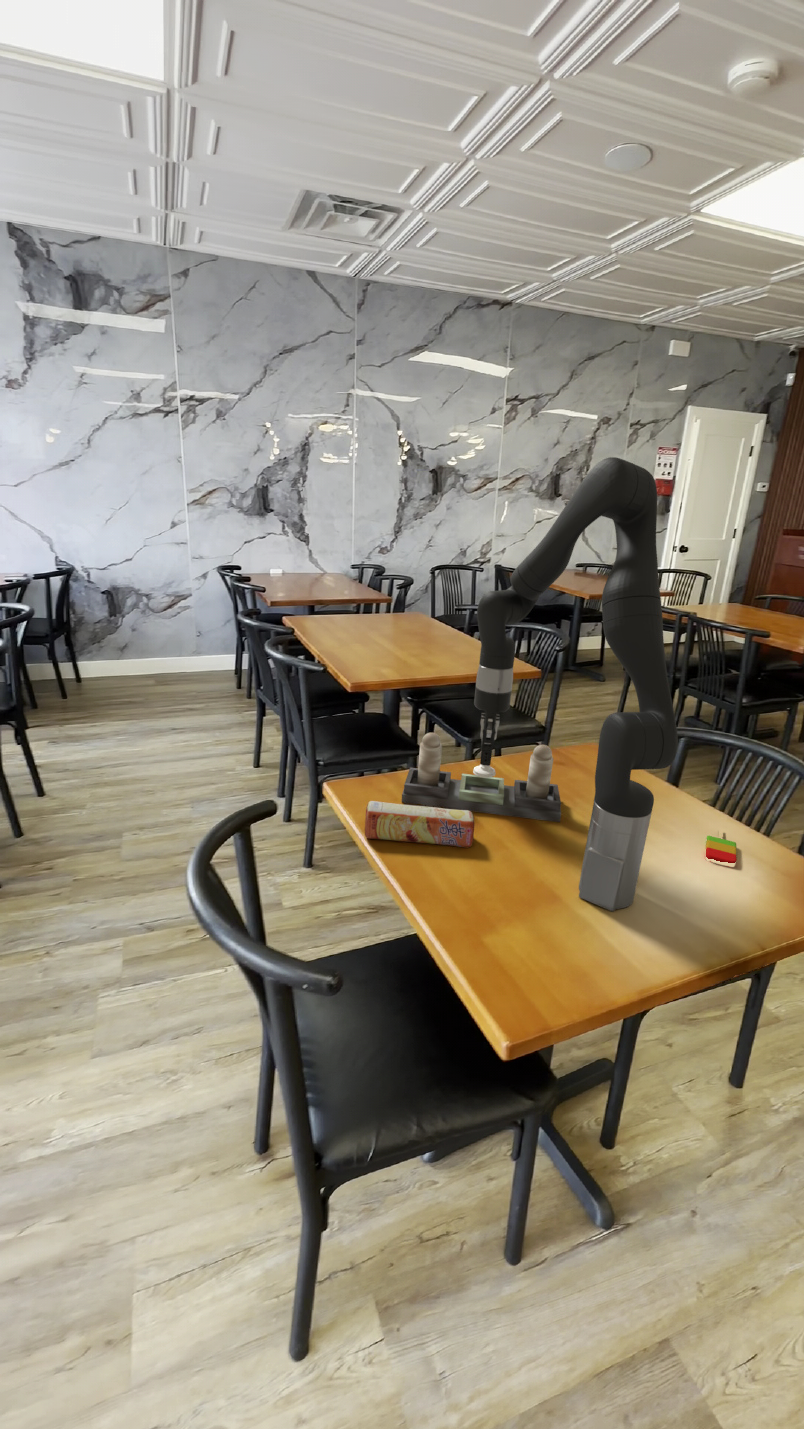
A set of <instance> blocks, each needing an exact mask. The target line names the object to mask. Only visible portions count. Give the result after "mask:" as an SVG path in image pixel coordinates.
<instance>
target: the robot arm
mask: <svg viewBox="0 0 804 1429" xmlns="http://www.w3.org/2000/svg"><path fill="white" fill-rule="evenodd" d="M656 483H657V482H656V480H655V478H654V475H652V473H651V472H650V471H648V470H647V469H646V468H644V467H642V466H639V465H637V464H635V463H632V462H630V461H629V460H628V461H627V460H625V459H622V458H619V457H613V456H612V457H608V458H607V457H606V458H604V459H602V460H600V461H599V462H598V463H596V465H594V466H593V467H592V469H591V470H590V471H589V472H588V473H587V474H586V476H585V477H584V478H583V480H582V481H581V483H580V484H579V485H578V487H577V488H576V490H575V492H574V493H573V494H572V496H571V497H570V498H569V501H567V503H566V505H565V506H564V508H563V509H562V511H561V512H560V514H559V515H558V517H557V518H556V520H555V521H554V523H553V524H552V526H551V527H550V529H549V530H548V532H547V533H546V534H545V536H543V538H542V539H541V540H540V542H538V544H537V545H536V547H534V549H532V551H531V552H530V553H528V555H526V557H525V558H524V559H523V560H522V561H521V562H520V563H519V565H517V567H516V568H515V569H514V570H513V572H512V574H511V576H510V584H511V586H509V587H508V588H507V589H503V590H502V589H501V590H492V591H488V592H486V593H485V594H483V595H482V597H481V598H480V600H479V603H478V606H477V609H476V620H477V624H478V625H477V627H478V632H479V640H480V645H481V646H480V654H479V665H478V669H477V674H476V680H475V691H474V699H473V705H474V706H475V708H476V709H478V710H480V711H484V712H481V717H480V722H479V724H480V736H479V738H480V739H481V740H480V741H481V745H480V748H481V753H480V762H479V763H480V764H481V765H487V766H489V765H490V766H491V763H492V754H493V751H494V748H495V746H494V744H495V740H497V736H498V729H499V727H500V719H501V718H500V717H501V716H500V714H499V713H504V712H507V711H509V710H510V707H511V706H510V705H511V699H512V698H511V697H512V689H513V683H514V682H513V681H514V664H515V663H514V662H515V657H516V656H515V654H516V643H515V642H516V641H515V640H514V639H512V638H511V637H509V636H507V634H506V626H509V625H515V624H517V623H519V622H521V621H523V620H524V619H525V618H526V617H527V616H528V615H529V614H530V613H531V611H532V609H533V608H534V606H535V605H536V603H537V602H538V601H539V598H540V596H541V595H542V594H543V593H544V592H545V591H547V590H548V588H549V587H550V586H552V585H553V584H554V583H555V582H556V581H557V580H558V578H560V576H561V575H563V572H565V570H566V568H567V567H568V565H569V562H570V561H571V557H572V556H573V555H572V554H573V551H574V549H575V546H576V543H577V541H578V539H579V537H580V536H581V535H582V533H584V531H585V530H586V529H587V528H588V527H589V526H590V525H591V524H592V523H594V522H595V521H597V520H598V519H599V518H601V517H604V518H607V519H610V520H612V521H613V525H614V531H615V538H616V541H615V542H616V556H615V560H614V563H613V566H612V568H611V570H610V573H609V574H608V577H607V580H606V581H605V584H604V587H603V591H602V594H601V611H602V613H601V614H602V626H603V634H604V638H605V640H606V642H607V645H608V646H609V648H610V649H611V651H612V653H613V654H614V656H615V657H616V658H617V660H618V661H619V663H620V664H621V666H622V667H623V668H624V670H625V671H626V672H627V675H628V676H629V677H630V679H631V681H632V683H633V687H634V690H635V693H636V696H637V702H638V710H639V711H627V712H624V711H623V712H619V711H618V712H612V713H610V714H609V715H608V716H607V717H606V718H605V719H604V721H603V723H602V726H601V729H600V733H599V738H598V740H599V741H598V748H597V757H596V764H595V766H596V767H595V774H594V787H595V788H594V792H595V793H594V800H593V805H592V810H591V815H590V820H589V827H588V831H587V832H588V833H587V838H586V844H585V850H584V854H583V860H582V867H581V871H580V872H581V873H580V879H579V884H578V890H579V893H578V898H580V899H583V900H585V901H588V902H589V903H592V904H594V905H596V906H599V907H601V908H603V909H605V910H608V911H609V912H615V910H618V909H624V908H627V907H629V906H631V905H632V904H633V901H634V899H635V894H636V890H637V885H638V884H637V883H638V878H639V874H640V871H641V870H640V869H641V864H642V859H643V857H644V856H643V855H644V850H645V845H646V842H647V841H646V840H647V837H648V831H649V826H650V822H651V816H652V813H653V807H654V803H655V802H654V801H655V797H654V794H653V791H652V790H650V789H649V788H647V787H646V786H645V785H643V784H641V783H639V782H637V781H636V780H635V781H634V780H631V772H632V771H634V770H636V771H637V770H640V771H641V770H661V769H662V770H663V769H666V768H669V767H670V766H671V765H672V764H673V763H674V760H675V759H676V757H677V752H678V746H679V745H678V744H679V743H678V740H679V739H678V728H677V727H678V726H677V722H676V716H675V715H676V714H675V711H674V710H675V709H674V706H673V699H672V695H671V689H670V684H669V679H668V677H669V676H668V670H667V662H666V653H665V644H664V642H665V641H664V624H663V622H664V621H663V610H662V597H661V590H660V580H659V566H658V565H659V563H658V553H657V552H658V550H657V521H658V519H657V517H658V516H657V515H658V488H657V484H656ZM485 743H491V744H485ZM480 764H479V765H480Z"/></svg>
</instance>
